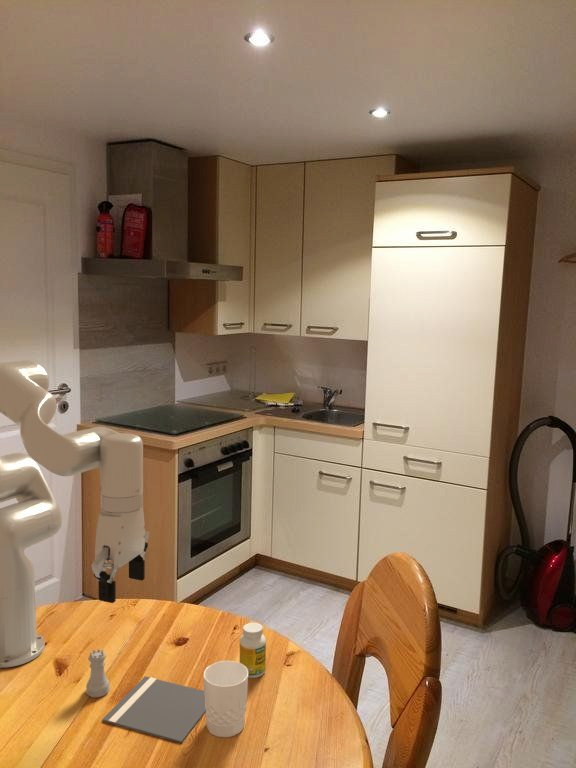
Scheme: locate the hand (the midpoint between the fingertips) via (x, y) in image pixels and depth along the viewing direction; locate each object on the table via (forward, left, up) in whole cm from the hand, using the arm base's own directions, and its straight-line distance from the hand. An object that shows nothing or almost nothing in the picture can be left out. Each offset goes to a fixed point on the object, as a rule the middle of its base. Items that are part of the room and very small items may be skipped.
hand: (122, 589), depth 120 cm
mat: (+9, -1, -21) cm, 23 cm away
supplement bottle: (+20, +16, -21) cm, 33 cm away
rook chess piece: (-5, -1, -21) cm, 22 cm away
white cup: (+22, -1, -21) cm, 31 cm away
